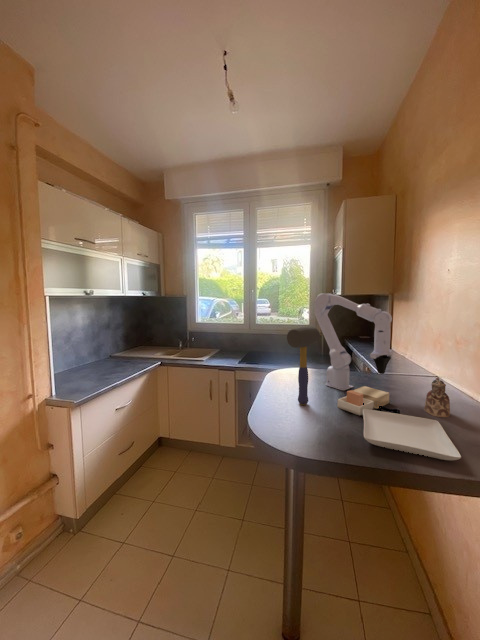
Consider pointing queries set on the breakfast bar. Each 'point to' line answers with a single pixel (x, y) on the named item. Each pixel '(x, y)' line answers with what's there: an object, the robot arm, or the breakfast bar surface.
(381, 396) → the beige bevelled block
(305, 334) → the rubber mallet
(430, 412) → the figurine
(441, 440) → the salad plate
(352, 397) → the terracotta-coloured block
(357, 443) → the breakfast bar surface
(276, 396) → the breakfast bar surface
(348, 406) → the tray
